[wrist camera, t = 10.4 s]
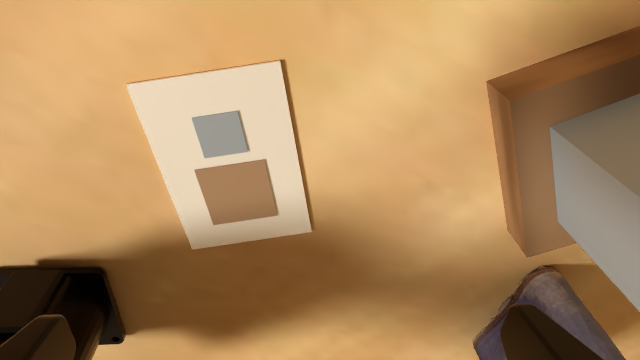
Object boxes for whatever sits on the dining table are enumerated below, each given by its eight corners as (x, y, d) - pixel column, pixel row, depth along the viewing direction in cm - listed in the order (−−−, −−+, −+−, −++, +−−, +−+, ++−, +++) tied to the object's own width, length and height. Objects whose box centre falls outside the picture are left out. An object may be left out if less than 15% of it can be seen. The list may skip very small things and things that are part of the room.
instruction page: (311, 230, 24) (311, 233, 24) (192, 247, 24) (191, 251, 24) (279, 60, 19) (280, 61, 18) (127, 83, 19) (125, 85, 18)
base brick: (503, 223, 26) (527, 257, 23) (481, 77, 20) (509, 100, 18) (671, 171, 24) (716, 200, 22) (695, 0, 19) (758, 13, 16)
